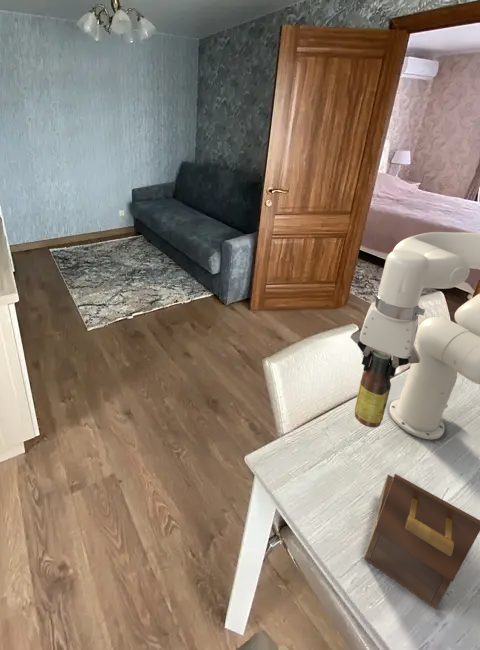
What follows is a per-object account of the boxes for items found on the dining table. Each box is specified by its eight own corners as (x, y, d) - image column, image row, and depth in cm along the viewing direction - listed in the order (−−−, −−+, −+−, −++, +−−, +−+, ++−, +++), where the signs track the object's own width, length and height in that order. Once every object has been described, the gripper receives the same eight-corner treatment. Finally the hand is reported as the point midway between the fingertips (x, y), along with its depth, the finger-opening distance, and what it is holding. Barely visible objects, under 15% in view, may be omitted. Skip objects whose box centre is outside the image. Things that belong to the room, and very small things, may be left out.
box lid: (394, 473, 57) (388, 504, 53) (482, 521, 51) (483, 561, 46) (375, 527, 62) (367, 559, 58) (452, 577, 56) (451, 618, 51)
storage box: (378, 501, 75) (388, 474, 72) (441, 539, 69) (455, 511, 65) (363, 559, 66) (374, 530, 62) (435, 609, 59) (451, 581, 56)
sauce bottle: (384, 431, 83) (403, 366, 76) (357, 427, 85) (373, 362, 77) (376, 409, 89) (392, 347, 82) (350, 405, 91) (364, 344, 83)
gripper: (443, 312, 73) (420, 379, 80) (357, 287, 82) (343, 349, 89) (441, 329, 67) (416, 399, 74) (349, 300, 77) (335, 365, 84)
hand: (377, 371), depth 82 cm, fingers closed on sauce bottle, 4 cm apart
